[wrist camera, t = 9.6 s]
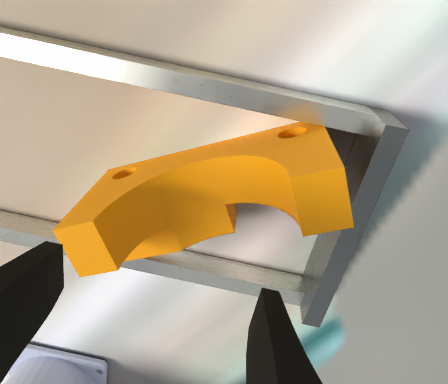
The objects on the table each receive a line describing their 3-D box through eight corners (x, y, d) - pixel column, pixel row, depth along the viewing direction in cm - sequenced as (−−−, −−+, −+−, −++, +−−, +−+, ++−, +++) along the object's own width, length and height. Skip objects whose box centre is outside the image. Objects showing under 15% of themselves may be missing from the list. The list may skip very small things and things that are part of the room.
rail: (313, 290, 23) (319, 327, 21) (-143, 192, 23) (-195, 216, 21) (387, 110, 18) (409, 129, 15) (-214, -21, 18) (-297, -25, 15)
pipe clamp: (138, 229, 23) (96, 305, 17) (109, 168, 21) (52, 230, 15) (332, 189, 20) (360, 263, 15) (319, 115, 18) (344, 166, 13)
